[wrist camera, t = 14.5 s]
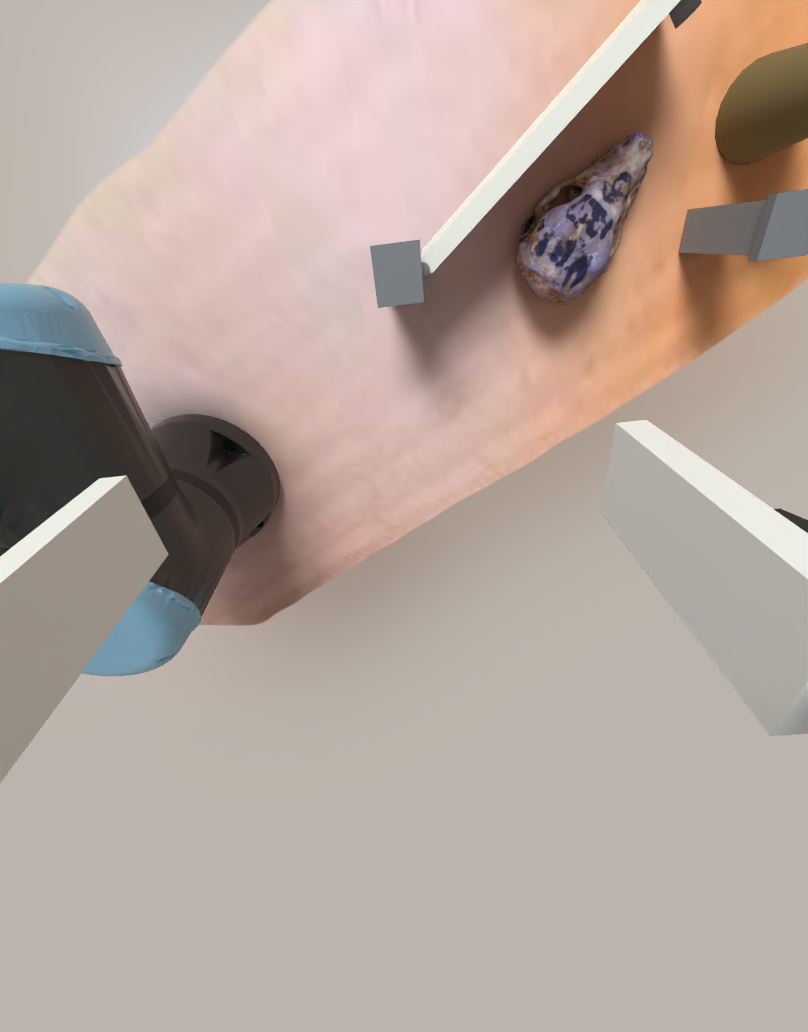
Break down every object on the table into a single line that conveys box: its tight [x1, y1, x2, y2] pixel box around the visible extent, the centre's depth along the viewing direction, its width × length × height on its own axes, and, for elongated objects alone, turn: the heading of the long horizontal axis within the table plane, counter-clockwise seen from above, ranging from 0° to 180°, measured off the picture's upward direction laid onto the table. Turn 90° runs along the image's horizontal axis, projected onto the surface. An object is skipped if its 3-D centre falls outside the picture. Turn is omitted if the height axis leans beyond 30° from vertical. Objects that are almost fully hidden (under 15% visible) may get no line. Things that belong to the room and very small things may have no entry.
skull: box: [515, 132, 653, 305], centre depth 32 cm, size 12×8×6 cm, turn 137°
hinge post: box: [370, 240, 424, 308], centre depth 32 cm, size 3×4×10 cm
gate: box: [421, 0, 702, 279], centre depth 29 cm, size 22×2×8 cm, turn 135°
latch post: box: [679, 189, 808, 261], centre depth 31 cm, size 3×4×10 cm
